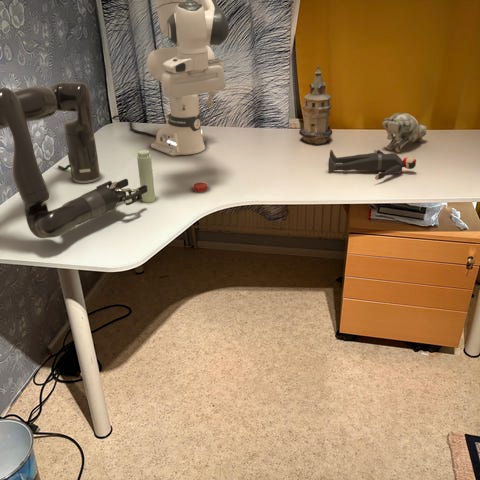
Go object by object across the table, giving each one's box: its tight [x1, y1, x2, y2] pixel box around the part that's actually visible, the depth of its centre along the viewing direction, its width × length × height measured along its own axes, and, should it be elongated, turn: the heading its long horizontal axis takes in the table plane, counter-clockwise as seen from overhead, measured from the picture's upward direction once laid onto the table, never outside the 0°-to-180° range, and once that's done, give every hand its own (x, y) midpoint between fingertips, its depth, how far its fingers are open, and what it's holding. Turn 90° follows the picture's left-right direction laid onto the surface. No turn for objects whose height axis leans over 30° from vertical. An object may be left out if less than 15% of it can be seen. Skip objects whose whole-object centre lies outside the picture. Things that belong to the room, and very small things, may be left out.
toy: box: [327, 149, 417, 181], centre depth 190 cm, size 26×6×30 cm
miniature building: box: [298, 65, 333, 145], centre depth 213 cm, size 13×14×30 cm
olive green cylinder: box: [136, 149, 156, 203], centre depth 169 cm, size 4×4×16 cm
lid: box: [192, 181, 208, 193], centre depth 179 cm, size 5×5×2 cm
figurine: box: [381, 112, 428, 153], centre depth 209 cm, size 10×19×20 cm
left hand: (136, 184), depth 166 cm, fingers open, 8 cm apart
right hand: (195, 108), depth 166 cm, fingers open, 8 cm apart
